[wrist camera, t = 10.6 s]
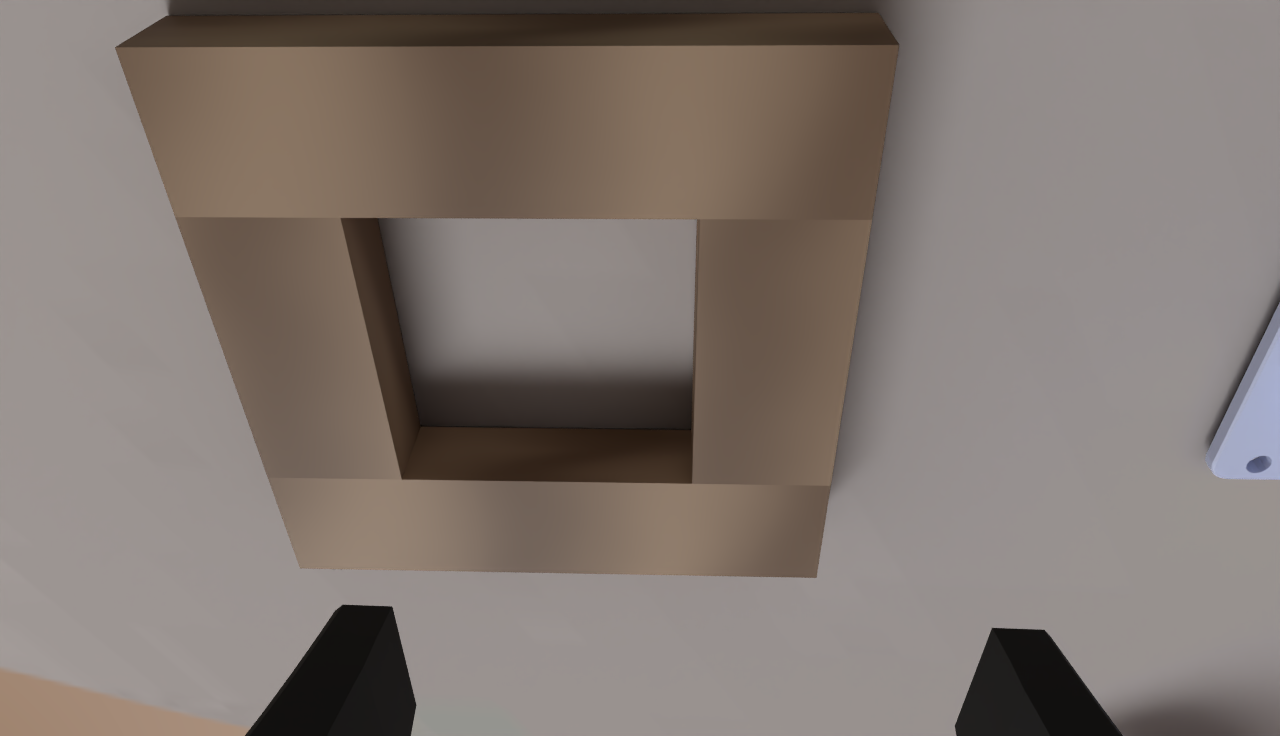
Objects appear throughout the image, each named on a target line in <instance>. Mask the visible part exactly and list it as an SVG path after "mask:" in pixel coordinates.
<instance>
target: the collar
mask: <svg viewBox="0 0 1280 736" xmlns="http://www.w3.org/2000/svg"><path fill="white" fill-rule="evenodd" d="M115 49H116V51H117V54H118V57H119V60H120V63H121V66H122V68H123V71H124V74H125V77H126V80H127V82H128V85H129V88H130V91H131V94H132V97H133V99H134V102H135V105H136V108H137V111H138V113H139V116H140V119H141V122H142V125H143V127H144V130H145V133H146V136H147V139H148V142H149V144H150V147H151V150H152V153H153V156H154V158H155V161H156V164H157V167H158V170H159V172H160V175H161V178H162V181H163V184H164V187H165V189H166V192H167V195H168V198H169V201H170V203H171V206H172V209H173V212H174V215H175V218H176V220H177V223H178V226H179V229H180V232H181V234H182V237H183V240H184V243H185V246H186V248H187V251H188V254H189V257H190V260H191V263H192V265H193V268H194V271H195V274H196V277H197V279H198V282H199V285H200V288H201V291H202V294H203V296H204V299H205V302H206V305H207V308H208V310H209V313H210V316H211V319H212V322H213V324H214V327H215V330H216V333H217V336H218V339H219V341H220V344H221V347H222V350H223V353H224V355H225V358H226V361H227V364H228V367H229V369H230V372H231V375H232V378H233V381H234V384H235V386H236V389H237V392H238V395H239V398H240V400H241V403H242V406H243V409H244V412H245V415H246V417H247V420H248V423H249V426H250V429H251V431H252V434H253V437H254V440H255V443H256V445H257V448H258V451H259V454H260V457H261V460H262V462H263V465H264V468H265V471H266V474H267V476H268V479H269V482H270V485H271V488H272V491H273V493H274V496H275V499H276V502H277V505H278V507H279V510H280V513H281V516H282V519H283V521H284V524H285V527H286V530H287V533H288V536H289V538H290V541H291V544H292V547H293V550H294V552H295V555H296V558H297V561H298V564H299V566H300V568H308V569H364V570H419V571H474V572H529V573H584V574H640V575H695V576H750V577H805V578H816V577H817V570H818V564H819V557H820V551H821V545H822V538H823V532H824V525H825V519H826V512H827V506H828V500H829V493H830V487H831V480H832V474H833V467H834V461H835V455H836V448H837V442H838V435H839V429H840V422H841V416H842V410H843V403H844V397H845V390H846V384H847V377H848V371H849V365H850V358H851V352H852V345H853V339H854V333H855V326H856V320H857V313H858V307H859V300H860V294H861V288H862V281H863V275H864V268H865V262H866V255H867V249H868V243H869V236H870V230H871V223H872V217H873V210H874V204H875V198H876V191H877V185H878V178H879V172H880V165H881V159H882V153H883V146H884V140H885V133H886V127H887V120H888V114H889V108H890V101H891V95H892V88H893V82H894V75H895V69H896V63H897V56H898V50H899V44H898V42H897V41H896V39H895V38H894V36H893V35H892V33H891V32H890V30H889V28H888V27H887V25H886V24H885V22H884V21H883V19H882V17H881V16H880V14H879V13H700V14H462V15H224V16H165V17H164V18H162V19H160V20H159V21H157V22H156V23H154V24H152V25H151V26H149V27H147V28H146V29H144V30H143V31H141V32H139V33H138V34H136V35H134V36H133V37H131V38H130V39H128V40H126V41H125V42H123V43H121V44H120V45H118V46H117V47H115ZM377 218H517V219H697V236H696V273H695V310H694V347H693V384H692V421H691V430H643V429H562V428H481V427H421V426H420V422H419V417H418V412H417V407H416V402H415V398H414V393H413V388H412V383H411V378H410V373H409V369H408V364H407V359H406V354H405V349H404V345H403V340H402V335H401V330H400V325H399V320H398V316H397V311H396V306H395V301H394V296H393V291H392V287H391V282H390V277H389V272H388V267H387V263H386V258H385V253H384V248H383V243H382V238H381V234H380V229H379V224H378V219H377Z"/></svg>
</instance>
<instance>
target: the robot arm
mask: <svg viewBox="0 0 1280 736" xmlns="http://www.w3.org/2000/svg"><path fill="white" fill-rule="evenodd" d="M1258 456H1259V457H1258ZM1256 457H1257V458H1256ZM1254 458H1256V459H1254ZM1252 459H1254V460H1252ZM1250 460H1251V461H1250ZM1205 461H1206V463H1207V465H1208V467H1209V468H1210V469H1211V471H1212V472H1213V474H1214V475H1216V476H1218V477H1219V478H1225V479H1274V480H1280V303H1279V305H1278V307H1277V309H1276V311H1275V313H1274V315H1273V317H1272V319H1271V321H1270V323H1269V325H1268V328H1267V330H1266V332H1265V334H1264V336H1263V338H1262V340H1261V342H1260V344H1259V346H1258V348H1257V350H1256V352H1255V354H1254V356H1253V359H1252V361H1251V363H1250V365H1249V367H1248V369H1247V371H1246V373H1245V375H1244V377H1243V379H1242V381H1241V383H1240V385H1239V387H1238V389H1237V392H1236V394H1235V396H1234V398H1233V400H1232V402H1231V404H1230V406H1229V408H1228V410H1227V412H1226V414H1225V416H1224V418H1223V420H1222V423H1221V425H1220V427H1219V429H1218V431H1217V433H1216V435H1215V437H1214V439H1213V441H1212V443H1211V445H1210V447H1209V449H1208V451H1207V453H1206V458H1205ZM415 709H416V702H415V698H414V694H413V690H412V685H411V681H410V677H409V673H408V669H407V665H406V661H405V657H404V653H403V649H402V644H401V640H400V636H399V632H398V628H397V624H396V620H395V616H394V612H393V608H392V607H390V606H362V605H342V606H341V607H339V608H338V609H337V610H335V612H334V613H333V615H332V616H331V618H330V619H329V621H328V622H327V624H326V625H325V626H324V628H323V629H322V631H321V632H320V634H319V635H318V637H317V638H316V640H315V641H314V642H313V644H312V645H311V647H310V648H309V650H308V651H307V652H306V654H305V655H304V657H303V658H302V660H301V661H300V662H299V664H298V665H297V667H296V668H295V669H294V671H293V672H292V674H291V675H290V676H289V678H288V679H287V680H286V682H285V683H284V685H283V686H282V687H281V689H280V690H279V691H278V693H277V694H276V695H275V697H274V698H273V700H272V701H271V702H270V704H269V705H268V706H267V708H266V709H265V710H264V712H263V713H262V714H261V716H260V717H259V718H258V720H257V721H256V722H255V723H254V725H253V726H252V727H251V729H250V730H249V731H248V732H247V734H246V735H245V736H411V731H412V726H413V720H414V715H415ZM955 729H956V735H957V736H1123V735H1122V734H1121V732H1120V731H1119V730H1118V728H1117V727H1116V726H1115V724H1114V723H1113V722H1112V720H1111V719H1110V718H1109V716H1108V715H1107V714H1106V712H1105V711H1104V710H1103V708H1102V707H1101V706H1100V704H1099V703H1098V701H1097V700H1096V699H1095V697H1094V696H1093V695H1092V693H1091V692H1090V691H1089V689H1088V688H1087V686H1086V685H1085V684H1084V682H1083V681H1082V680H1081V678H1080V677H1079V675H1078V674H1077V673H1076V671H1075V670H1074V668H1073V667H1072V666H1071V664H1070V663H1069V662H1068V660H1067V659H1066V657H1065V656H1064V655H1063V653H1062V652H1061V650H1060V649H1059V648H1058V646H1057V645H1056V644H1055V642H1054V641H1053V639H1052V638H1051V637H1050V636H1049V635H1048V633H1047V632H1046V631H1045V630H1033V629H1005V628H992V630H991V632H990V635H989V638H988V640H987V643H986V646H985V648H984V651H983V654H982V656H981V659H980V661H979V664H978V667H977V669H976V672H975V675H974V677H973V680H972V682H971V685H970V688H969V690H968V693H967V696H966V698H965V701H964V703H963V706H962V709H961V711H960V714H959V717H958V719H957V722H956V724H955Z"/></svg>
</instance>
